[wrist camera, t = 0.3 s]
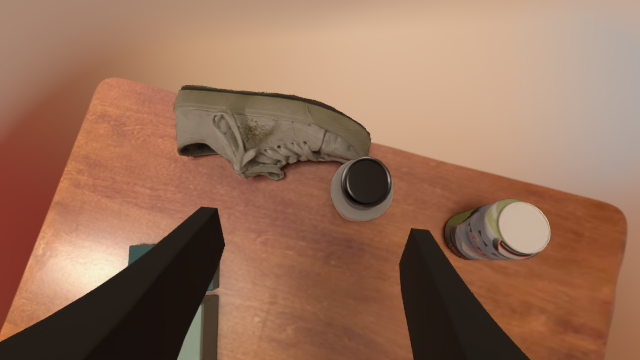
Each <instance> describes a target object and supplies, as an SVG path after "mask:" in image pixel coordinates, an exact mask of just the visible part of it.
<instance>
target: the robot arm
mask: <svg viewBox="0 0 640 360" xmlns="http://www.w3.org/2000/svg"><path fill="white" fill-rule="evenodd" d="M224 247H225V242H224V237H223V233H222V228H221V223H220V219H219V214H218V209H217V208H211V207H200V208H199V209H198V210H197V211H195V212H194V213H193V214H192V215H191V216H189V217H188V218H187V219H186V220H185V221H184V222H182V223H181V224H180V225H179V226H178V227H177V228H175V229H174V230H173V231H172V232H171V233H169V234H168V235H167V236H166V237H165V238H163V239H162V240H161V241H160V242H158V243H157V244H156V245H155V246H153V247H152V248H151V249H150V250H148V251H147V252H146V253H145V254H143V255H142V256H141V257H139V258H138V259H137V260H135V261H134V262H133V263H131V264H130V265H129V266H127V267H126V268H125V269H123V270H122V271H120V272H119V273H118V274H116V275H115V276H113V277H112V278H110V279H109V280H107V281H106V282H104V283H103V284H101V285H100V286H98V287H97V288H95V289H94V290H92V291H90V292H89V293H87V294H86V295H84V296H82V297H81V298H79V299H77V300H75V301H74V302H72V303H70V304H69V305H67V306H65V307H64V308H62V309H60V310H58V311H57V312H55V313H53V314H52V315H50V316H48V317H46V318H45V319H43V320H41V321H39V322H37V323H35V324H33V325H32V326H30V327H28V328H26V329H24V330H22V331H20V332H18V333H16V334H14V335H13V336H11V337H9V338H7V339H5V340H3V341H1V342H0V360H177V359H178V356H179V353H180V351H181V348H182V345H183V342H184V340H185V337H186V335H187V333H188V330H189V328H190V326H191V324H192V322H193V319H194V317H195V315H196V313H197V311H198V309H199V307H200V305H201V303H202V301H203V298H204V296H205V294H206V292H207V290H208V288H209V286H210V284H211V282H212V279H213V277H214V275H215V273H216V271H217V268H218V265H219V262H220V259H221V256H222V253H223V250H224ZM399 268H400V284H401V293H402V299H403V304H404V310H405V315H406V320H407V326H408V331H409V336H410V341H411V347H412V352H413V359H414V360H530V359H529V358H528V357H527V356H526V355H525V354H524V353H523V352H522V351H521V349H520V348H519V347H518V346H517V345H516V344H515V343H514V342H513V341H512V340H511V339H510V338H509V336H508V335H507V334H506V333H505V332H504V331H503V330H502V329H501V328H500V326H499V325H498V324H497V323H496V322H495V321H494V319H493V318H492V317H491V316H490V315H489V313H488V312H487V311H486V310H485V308H484V307H483V306H482V305H481V303H480V302H479V301H478V300H477V298H476V297H475V296H474V295H473V293H472V292H471V291H470V289H469V288H468V287H467V285H466V284H465V283H464V281H463V280H462V278H461V277H460V276H459V274H458V273H457V271H456V270H455V269H454V267H453V266H452V264H451V263H450V261H449V260H448V258H447V257H446V255H445V254H444V253H443V251H442V249H441V248H440V246H439V245H438V243H437V242H436V240H435V239H434V237H433V236H432V234H431V233H430V231H429V230H424V229H414V228H411V231H410V234H409V237H408V240H407V243H406V245H405V248H404V251H403V254H402V257H401V260H400V263H399Z"/></svg>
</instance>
